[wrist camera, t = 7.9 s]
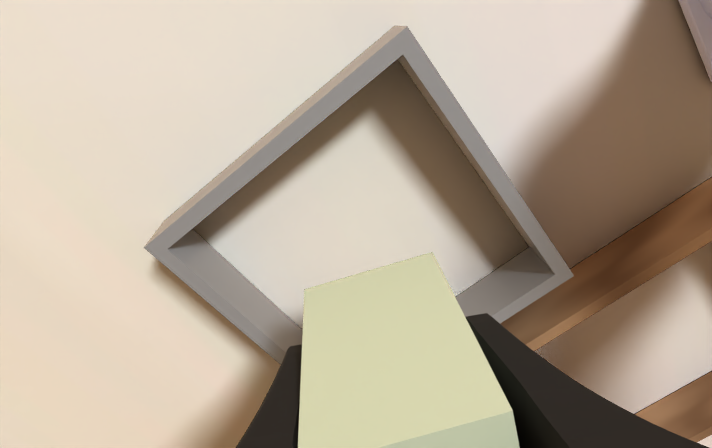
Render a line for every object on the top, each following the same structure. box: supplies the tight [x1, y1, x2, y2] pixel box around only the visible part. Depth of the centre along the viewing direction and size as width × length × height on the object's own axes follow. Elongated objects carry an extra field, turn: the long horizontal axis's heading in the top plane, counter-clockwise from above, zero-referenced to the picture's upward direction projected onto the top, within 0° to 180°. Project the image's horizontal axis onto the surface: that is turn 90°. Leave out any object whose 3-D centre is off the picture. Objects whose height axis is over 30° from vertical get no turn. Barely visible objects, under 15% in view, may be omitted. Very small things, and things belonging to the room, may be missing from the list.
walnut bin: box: [500, 177, 712, 443], centre depth 22 cm, size 12×12×2 cm
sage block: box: [298, 252, 520, 448], centre depth 12 cm, size 4×4×6 cm
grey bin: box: [144, 26, 574, 365], centre depth 19 cm, size 12×12×2 cm
